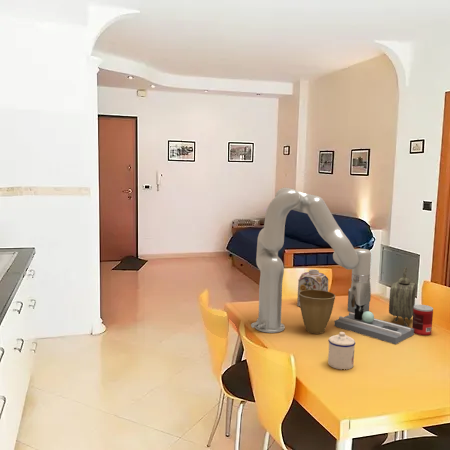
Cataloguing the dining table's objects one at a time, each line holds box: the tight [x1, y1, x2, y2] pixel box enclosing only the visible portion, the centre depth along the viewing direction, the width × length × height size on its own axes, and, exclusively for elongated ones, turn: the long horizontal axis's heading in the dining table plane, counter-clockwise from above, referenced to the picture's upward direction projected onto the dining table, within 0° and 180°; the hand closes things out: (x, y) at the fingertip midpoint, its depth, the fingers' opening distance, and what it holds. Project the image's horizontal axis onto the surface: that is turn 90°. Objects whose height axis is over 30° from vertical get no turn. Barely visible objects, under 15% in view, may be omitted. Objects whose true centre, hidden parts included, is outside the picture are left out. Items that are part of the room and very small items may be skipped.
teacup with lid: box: [327, 331, 356, 371], centre depth 167 cm, size 12×9×12 cm
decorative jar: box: [296, 268, 329, 307], centre depth 235 cm, size 12×12×18 cm
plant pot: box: [299, 290, 336, 335], centre depth 199 cm, size 15×15×16 cm
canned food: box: [411, 304, 434, 337], centre depth 199 cm, size 8×8×11 cm
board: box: [333, 312, 415, 345], centre depth 201 cm, size 28×16×4 cm, turn 44°
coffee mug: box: [347, 287, 371, 313], centre depth 230 cm, size 13×10×10 cm
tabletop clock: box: [388, 266, 417, 327], centre depth 211 cm, size 14×9×25 cm, turn 152°
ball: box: [362, 310, 375, 323], centre depth 203 cm, size 5×5×5 cm
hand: (358, 319), depth 206 cm, fingers closed
